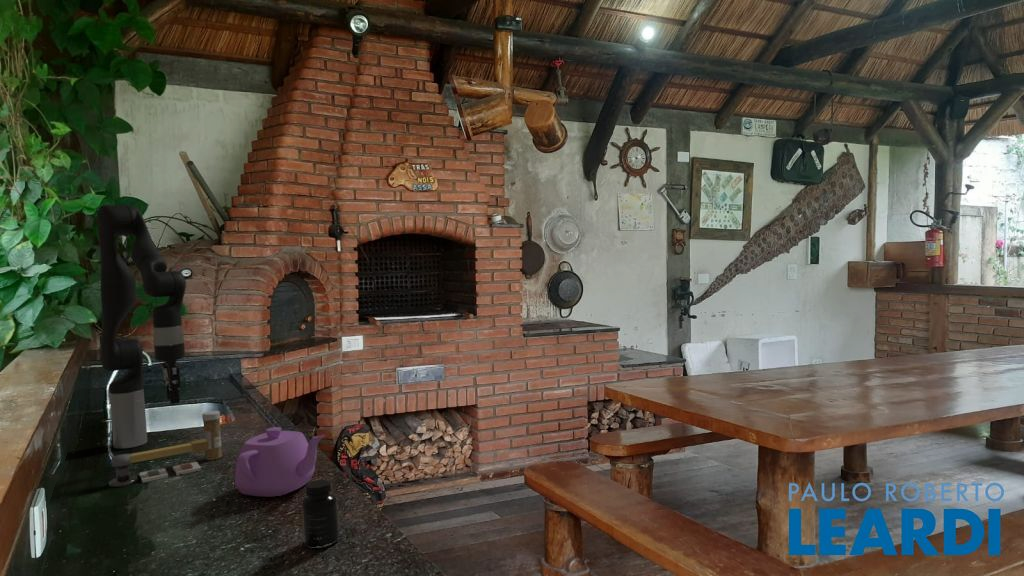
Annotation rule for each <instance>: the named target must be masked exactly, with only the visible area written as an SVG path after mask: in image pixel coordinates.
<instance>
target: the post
mask: <svg viewBox="0 0 1024 576" xmlns="http://www.w3.org/2000/svg"><path fill="white" fill-rule="evenodd" d="M129 469H130V468H129V465H126V466H121V467H115V472H116V477H115V478H113V479H111V480H109V482H108V487H110V488H123V487H128V486H131V485H134V484H135V483H138V476H137V475H130V472H129V471H130V470H129ZM127 485H128V486H127Z"/></svg>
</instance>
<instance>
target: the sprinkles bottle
mask: <svg viewBox="0 0 1024 576" xmlns="http://www.w3.org/2000/svg"><path fill="white" fill-rule="evenodd" d="M220 418H221V413H220V411H219V410H209V411H205V412H203V413H202V418H201V419H202V422H203V436H204V437H203V439H206V440H207V443H208V450H205V460H206V461H216V460H218V459H222V458H223V451H222V436H221V435H222V433H221V426H220V423H221V422H220ZM215 459H216V460H215Z"/></svg>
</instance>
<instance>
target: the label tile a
mask: <svg viewBox="0 0 1024 576" xmlns="http://www.w3.org/2000/svg"><path fill="white" fill-rule="evenodd" d="M166 478H169V473H168V471H167V469H166V468H165V467H162V468H157V469H151V470H147V471H141V472H139V479H140V480H141V483H142V484H143V483H149V482H154V481H158V480H162V479H163V480H164V479H166Z"/></svg>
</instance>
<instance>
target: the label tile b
mask: <svg viewBox="0 0 1024 576" xmlns="http://www.w3.org/2000/svg"><path fill="white" fill-rule="evenodd" d="M172 471H173V472H174V473H176V474H175V475H176V476H181V475H180V474H182V475H186V473H187V474H191V473H196V471H197V472H200V471H202V467H201V466H200V464H199V463H198V461H197V460H196V461H191V462H187V463H181V464H177V465H173V466H172Z"/></svg>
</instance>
